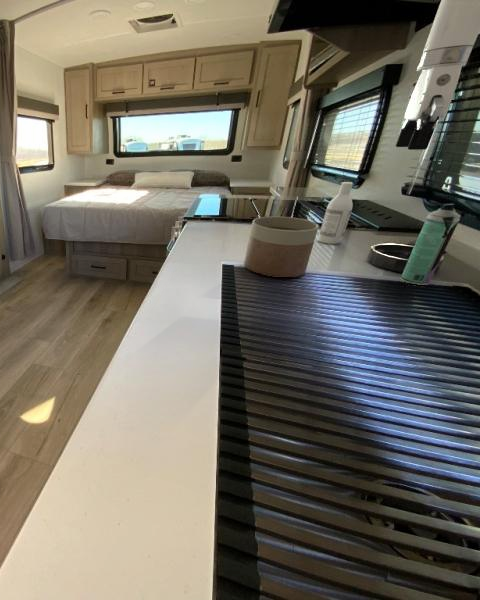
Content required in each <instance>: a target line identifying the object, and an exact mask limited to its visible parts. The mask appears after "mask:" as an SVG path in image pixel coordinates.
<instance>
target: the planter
mask: <svg viewBox="0 0 480 600" xmlns="http://www.w3.org/2000/svg"><path fill="white" fill-rule="evenodd" d="M318 229H319V224H318V223H316V222H314V221H312V220H309V219H305V218H298V217H293V216H277V215H276V216H273V215H271V216H262V217H256V218H255V219H253V220H252V222H251V227H250V231H249V236H248V242H247V247H246V251H245V258H244V261H243V262H244V263H243V265H244V267H245V268H246V269H247V270H249V271H250V270H251V271H250V272H252V271H253V273H255V272H256V273H255V274H257V273H260V274H265V275H270V276H277V277H293V278H298V277H301V276H303V275H304V274H306V271H307V268H308V264H309V260H310V259H311V254H312V251H313V247H314V244H315V241H316V237H317V233H318ZM260 274H259V275H260Z"/></svg>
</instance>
